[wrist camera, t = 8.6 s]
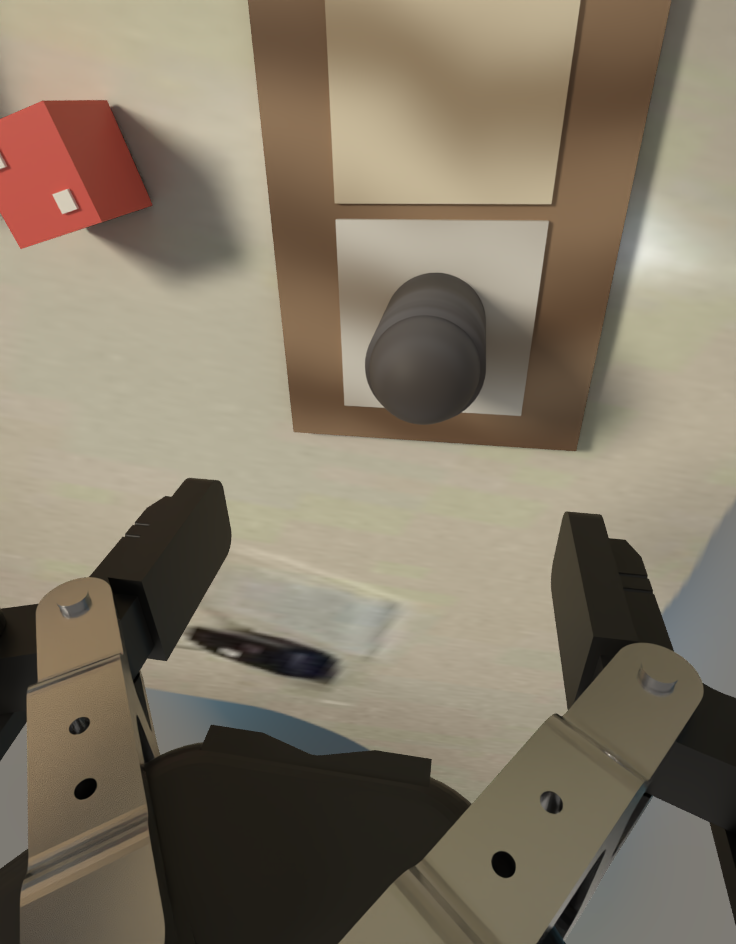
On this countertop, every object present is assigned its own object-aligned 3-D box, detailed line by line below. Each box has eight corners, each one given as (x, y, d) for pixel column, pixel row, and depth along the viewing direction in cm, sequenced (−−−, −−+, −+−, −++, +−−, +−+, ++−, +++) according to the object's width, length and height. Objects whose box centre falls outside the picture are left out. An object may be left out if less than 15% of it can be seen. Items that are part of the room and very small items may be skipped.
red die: (30, 132, 24) (-46, 137, 21) (106, 100, 23) (40, 100, 19) (79, 230, 26) (18, 249, 23) (152, 205, 25) (100, 222, 21)
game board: (181, -701, 13) (166, -743, 13) (848, -874, 11) (871, -935, 10) (296, 426, 30) (292, 434, 29) (574, 444, 28) (576, 453, 27)
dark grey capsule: (384, 271, 24) (352, 326, 18) (490, 273, 23) (492, 331, 17) (384, 369, 26) (356, 445, 20) (481, 373, 26) (479, 454, 20)
